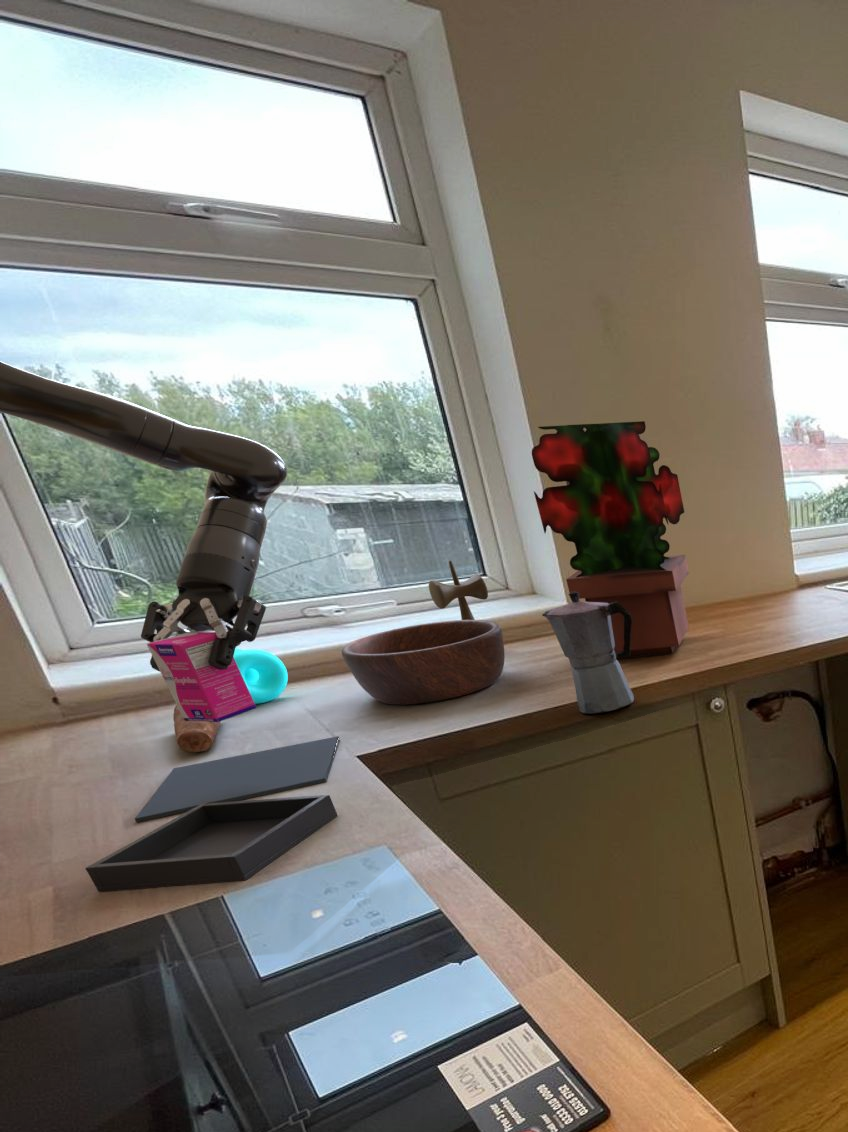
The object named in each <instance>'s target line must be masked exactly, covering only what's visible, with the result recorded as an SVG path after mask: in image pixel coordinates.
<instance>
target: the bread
mask: <svg viewBox="0 0 848 1132" xmlns="http://www.w3.org/2000/svg"><path fill="white" fill-rule="evenodd" d="M172 720H173V727H174V729H173V730H174V735H175V739H176V744H177V746H178V747H179V748H180V749H181V750H183V751H185V752H188V753H200V752H205V751H208V750H209V749H210V748H211V747H212V745H213V744H214V741H215V738H216V736H217V733H218V729H219V727H220V724H221V722H222V721H220V722H210V721H185V720H184V718H183V716H182V714H181V712H180V710H179V708H178V707H177V705H175V707H174V709H173V719H172Z"/></svg>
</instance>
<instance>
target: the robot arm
mask: <svg viewBox="0 0 848 1132" xmlns="http://www.w3.org/2000/svg"><path fill="white" fill-rule="evenodd" d="M0 413H2V414H5V415H10V416H12V417H16V418H19V419H22V420H25V421H28V422H32V423H35V424H38V425H41V426H43V427H47V428H49V429H52V430H56V431H59V432H61V433H63V434H67V435H69V436H72V437H76V438H79V439H81V440H84V441H87V442H90V443H92V444H95V445H98V446H100V447H104V448H105V449H106V448H107V449H109V450H112V451H115V452H117V453H120V454H122V455H125V456H129V457H131V458H134V459H137V460H138V461H139V460H140V461H142V462H145V463H148V464H151V465H153V466H156V467H159V468H162V469H165V470H168V471H172V472H179V473H180V472H181V473H182V472H185V471H188V470H191V469H203V470H208V471H210V472H209V475H208V478H207V482H206V487H205V497H204V505H203V508H202V510H201V512H200V516H199V519H198V522H197V524H196V527H195V530H194V532H193V535H192V536H191V538H190V540H189V542H188V545H187V547H186V550H185V553H184V557H183V559H182V563H181V565H180V569H179V572H178V575H177V578H176V581H175V586H176V588H177V590H178V596H177V597H176V598H175V599H174V600H173V601H172V603H165V604H161V603H160V602H158V601H155V600H154V601H151V602H150V603H149V604H148V607H147V611H146V614H145V617H144V622H143V625H142V628H141V629H142V630H141V634H140V638H141V639H143V640H145V641H147V642H148V643H151V642H155V641H158V640H162V639H166V638H170V637H171V636H172V635H173V634H174V633H176V635H180V634H183V633H187V632H206V631H208V630H210V631H213V632H216V635H217V637H218V638H219V639H218V640H214V643H213V647H212V650H211V654H210V657H209V660H208V663H209V664H210V665H211V666H213V667H215V668H217V669H218V670H226V669H227V668H228V665H230V664H231V662H232V658H233V655H234V652H235V648H237V647H238V646H240V645H241V644H242V643H243V642H248V643H252V642H253V641H255V640H256V638H257V635H258V633H259V629H260V627H261V624H262V620H263V619H264V616H265V612H266V609H267V605H264V604H263V603H262V602H260V601H259V600H258V599H256V598H254V597H252V596H251V591H252V588H253V586H254V582H255V577H256V574H257V571H258V567H259V563H260V555H261V553H260V552H261V548H262V545H263V542H264V538H265V534H266V530H267V523H268V521H267V516H266V515H265V508H266V506H267V504H268V501H269V499H270V497H272V495H273V494H274V493H275V492H276V491H277V490H278V489H279V487H281V486H282V485H283V484H284V483H285V482H286V479H287V477H288V468H287V465H286V463H285V462H284V460H283V459H282V458H281V457H280V456H279V455H278V453H276V452H275V451H273V450H272V449H271V448H269V447H267V446H266V445H264V444H262V443H260V442H258V441H256V440H252V439H249V438H246V437H242V436H239V435H235V434H232V433H226V432H222V431H217V430H214V429H209V428H204V427H198V426H192V425H188V424H186V423H184V422H181V421H178V420H176V419H173V418H171V417H169V416H166V415H164V414H161V413H159V412H157V411H153V410H151V409H148V408H146V407H143V406H140V405H138V404H136V403H133V402H130V401H127V400H124V399H122V398H118V397H115V396H112V395H109V394H106V393H103V392H102V393H101V392H98V391H95V390H91V389H87V388H84V387H81V386H80V387H79V386H75V385H72V384H68V383H63V382H60V381H57V380H54V379H51V378H47V377H44V376H41V375H38V374H35V373H32V372H29V371H26V370H23V369H21V368H19V367H15V366H13V365H11V364H9V363H5V362H3V361H1V360H0ZM179 623H180V624H182V625H184V626H185V627H186V628H184V629H183V628H181V627H179V625H178V624H179ZM155 632H156V633H155ZM149 664H150V666H151V668H152V669H153V670H155V671H157V672H159V673H161V672H160V670H159V668H158V666H157V664H156V662H155V660H154V658H153V656H152V655H151V658H150V660H149Z"/></svg>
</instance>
